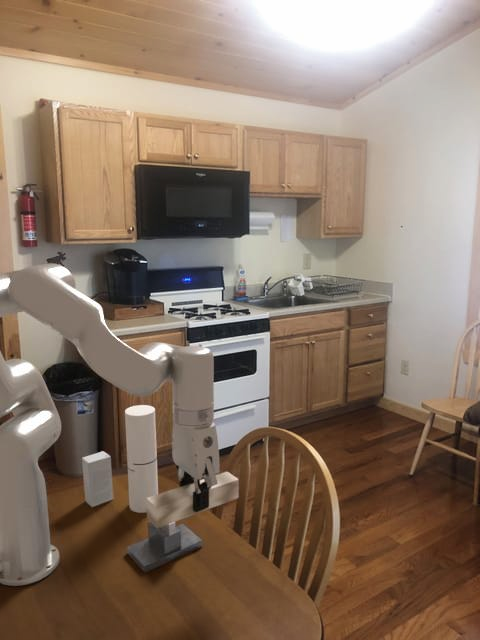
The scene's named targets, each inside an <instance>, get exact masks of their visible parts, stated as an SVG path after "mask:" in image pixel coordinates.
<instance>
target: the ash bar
mask: <svg viewBox="0 0 480 640" xmlns="http://www.w3.org/2000/svg"><path fill="white" fill-rule="evenodd" d="M215 476H216V479H217V482H218V483H217V485H214V486H212V487H211V489H210V490H209V507H208V508H206V509H204V510H201V511H198V512H194V511H193V492H195V485H194V483H191V484H188V485H185V486H182V487H180V486H178V487H176V488H173V489H170V490H166V491H164V492H160V493H158V494H157V495H154V496H151V497H148V498H146V501H147V512H146V519H148V521H149V522H151V523H152V524H153V525H154V526H155V527H156V528H159V527H162V526H164V525H167V524H170V523H172V522H175V523H176V522H178V521H180V520H182V519H185V518H188V517H191V516H193V515H196V514H199V513H202V512H204V511H206V510H210V509H212V508H215V507H218V506H222V505H223V504H227V503H229V502H231V501H235V500H237V499H239V494H240V492H239V491H240V490H239V489H240V485H239V484H240V483H239V482H240V481H239V479H240V478H238V477H236V476H235V475H233V474H231V473H230V472H228V471H224V472H221V473H218V474H215ZM203 482H204V478H203V479H200V484H201V483H203Z"/></svg>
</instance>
